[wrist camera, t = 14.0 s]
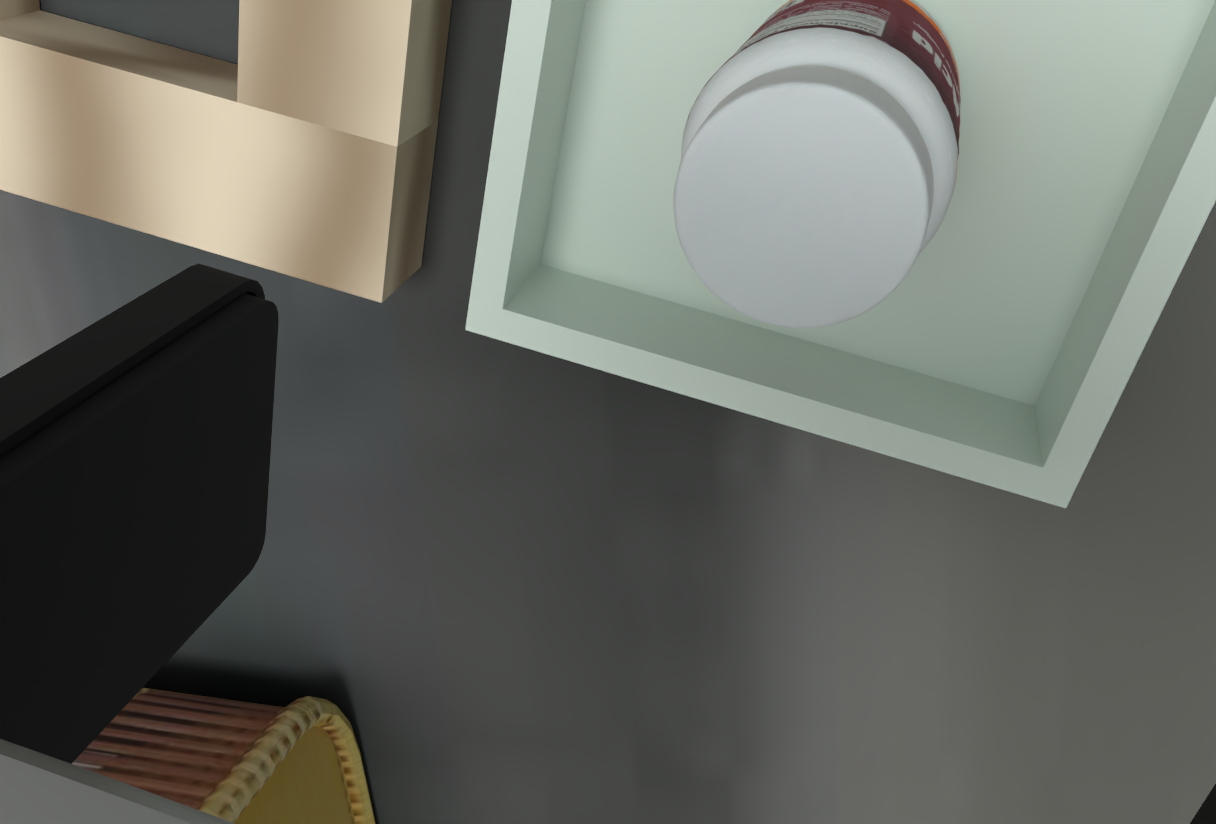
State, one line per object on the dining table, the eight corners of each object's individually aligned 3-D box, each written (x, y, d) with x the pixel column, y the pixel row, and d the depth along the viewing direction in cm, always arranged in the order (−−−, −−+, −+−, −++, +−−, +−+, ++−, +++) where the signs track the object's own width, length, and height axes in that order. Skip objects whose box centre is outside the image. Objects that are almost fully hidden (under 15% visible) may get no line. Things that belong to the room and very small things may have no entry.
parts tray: (1347, -207, 21) (1412, -205, 18) (1053, 432, 28) (1065, 508, 25) (617, -364, 23) (566, -385, 20) (513, 275, 30) (464, 329, 27)
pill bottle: (967, 187, 25) (964, 345, 18) (752, 207, 27) (672, 360, 20) (956, -41, 23) (948, 35, 16) (725, -6, 25) (625, 79, 18)
